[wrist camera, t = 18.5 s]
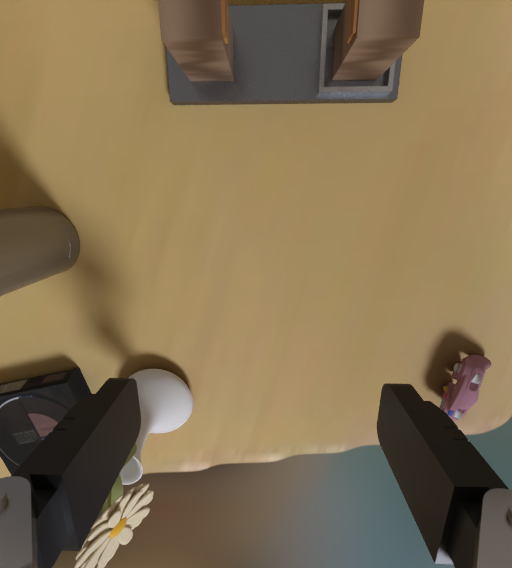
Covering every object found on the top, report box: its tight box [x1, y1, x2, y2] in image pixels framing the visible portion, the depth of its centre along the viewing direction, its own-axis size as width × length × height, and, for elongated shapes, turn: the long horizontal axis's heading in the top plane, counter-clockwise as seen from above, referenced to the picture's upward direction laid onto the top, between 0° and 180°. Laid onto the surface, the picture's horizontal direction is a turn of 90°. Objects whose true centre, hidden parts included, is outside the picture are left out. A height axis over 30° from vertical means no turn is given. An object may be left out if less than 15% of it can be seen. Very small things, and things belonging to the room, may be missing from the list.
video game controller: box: [440, 355, 491, 420], centre depth 44 cm, size 10×5×7 cm, turn 167°
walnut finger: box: [332, 0, 424, 81], centre depth 29 cm, size 5×5×10 cm
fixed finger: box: [158, 0, 234, 81], centre depth 29 cm, size 5×5×10 cm
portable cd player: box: [0, 368, 91, 475], centre depth 50 cm, size 16×17×4 cm
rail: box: [166, 3, 402, 105], centre depth 34 cm, size 26×9×2 cm, turn 90°
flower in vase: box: [74, 369, 193, 568], centre depth 37 cm, size 13×11×25 cm
